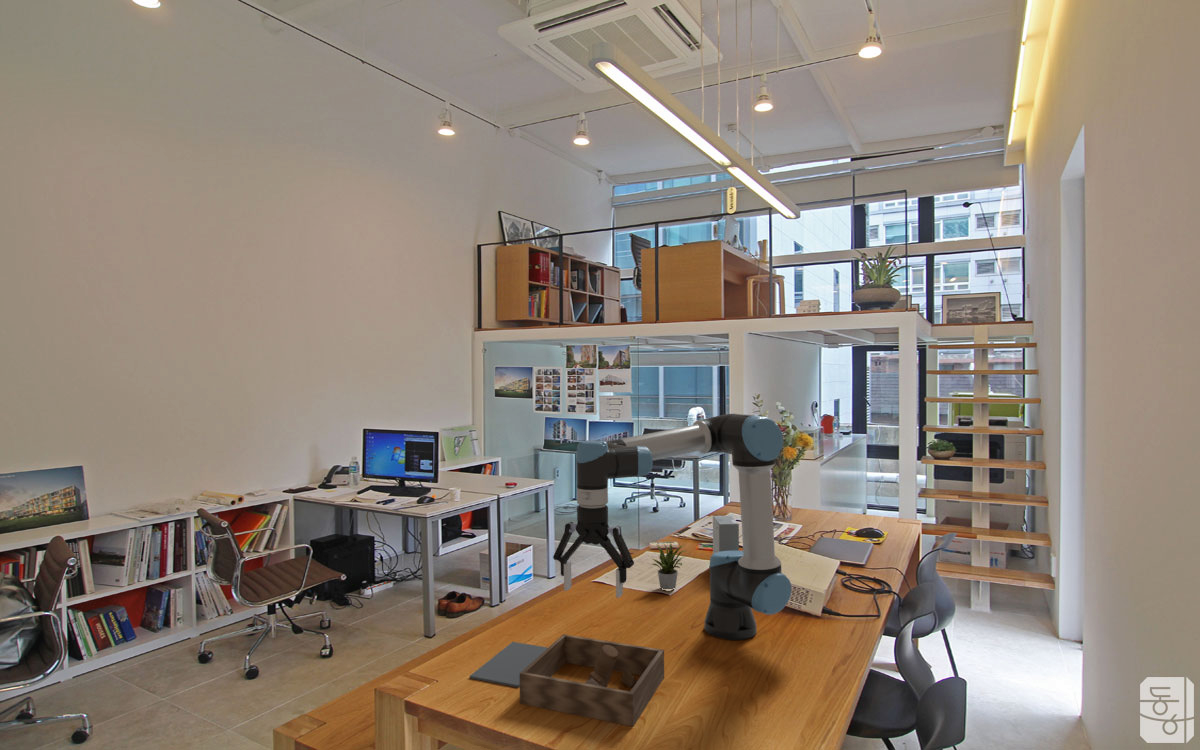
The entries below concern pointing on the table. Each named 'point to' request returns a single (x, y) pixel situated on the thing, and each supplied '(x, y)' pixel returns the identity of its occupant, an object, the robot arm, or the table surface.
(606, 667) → the wooden block set
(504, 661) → the mat
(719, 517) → the hard drive box
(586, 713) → the crate
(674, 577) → the house plant
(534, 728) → the table surface
